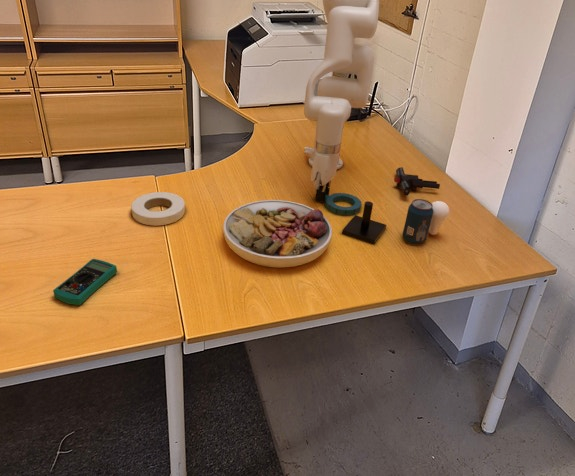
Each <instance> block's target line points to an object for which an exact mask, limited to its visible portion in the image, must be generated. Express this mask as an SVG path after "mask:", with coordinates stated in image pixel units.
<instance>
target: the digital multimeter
mask: <svg viewBox="0 0 575 476" xmlns="http://www.w3.org/2000/svg"><path fill="white" fill-rule="evenodd" d="M117 273H118V267H117V265H115V264H114V263H111V262H108V261H105V260H101V259H97V258H92V259H90V260H89V261H88V262H86V264H83V266H82V267H81V268H80V269H78V270H77V271H76V272H74V273H73V274H72V275H71V276H70V277H68V278H67V279H66V280H63V282H62V283H61V284H59V285H58V286H57V287H55V288H54V289H53V290H52V293H53V296H54V298H56V299H57V300H59V301H61V302H63V303H66V304H69V305H76V306H80V305H82V304H83V303H84V302H85V301H86V300H87V299H88V298H89V297H90V296H92V295H93V294H94V293H95V292H96V291H97V290H98V289H100V287H102V286H103V285H104V284H105V283H107V281H109V280H110V279H111V278H112V277H113V276H114V275H116V274H117Z"/></svg>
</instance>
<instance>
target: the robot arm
mask: <svg viewBox="0 0 575 476" xmlns="http://www.w3.org/2000/svg"><path fill="white" fill-rule="evenodd" d="M322 6H323V11H324V15H325V19H326V22H327V27H326V37H325V44H324V54H323V60H322V62H321V63H320V64H319V65H318V66H317V67H316V68H315V69H314V71H313V72H311V74H310V76H309V78H308V80H307V83H306V86H305V87H306V88H305V95H304V103H303V114H304V117H305V118H306V119H307V120H309V121H313V122H316V125H315V134H314V135H315V137H314V145H313V148H312V147H310V146H305V147H304V148H303V151H304V155H309V158H308V164H309V165H310V166H311V167H312V168H311V172H310V173H311V174H310V182H311V183H314V186H313V189H315V194H316V197H315V196H314V200H315V202H320V203H323V204H325V203H324V202H325V197H326V194H327V195H330V187H331V183H332V179H333V178H334V177H335V176H336V174H337V170H340V169H341V168H342V167H343V164H344V161H343V159H342V158H340V157H341V156H340V153H341V147H342V140H343V131H344V125H345V123H346V122H347V121H348V120H349V119H350V117H351V113H352V109H363V108H365V107H366V106H367V104H368V101H369V96H370V90H371V82H372V75H373V67H374V51H373V49H372V47H371V46H369V45H367V44H358V43H355V39H357V38H358V39H366V40H367V39H372V38H373V37H374V36H375V34H376V32H377V28H378V23H379V22H378V21H379V14H380V12H379V10H380V0H322ZM330 73H339V74H347V75H355V76H356V77H357V78H352V77H344V76H326V75H327V74H330ZM324 76H325V77H324ZM316 87H317V93H316V94H317V95H315V92H316Z"/></svg>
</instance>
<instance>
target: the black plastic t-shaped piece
mask: <svg viewBox="0 0 575 476" xmlns="http://www.w3.org/2000/svg"><path fill="white" fill-rule="evenodd" d="M395 174H396V177H394V179H393V181H394V183H396V189H401V190H402V193H403V195H404V196H405V197H408V196H409V195H410V194H411V193H412V191H417V189H418V188H420V189H423V188H424V189H425V188H426V189H436V190H440V187H441V184H440V183H438V181H435V180H425V179H422V178H419V175H416V174H407V173H405V170H404V167H402V166H400V167H398V168H397V169H395Z"/></svg>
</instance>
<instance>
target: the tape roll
mask: <svg viewBox="0 0 575 476" xmlns="http://www.w3.org/2000/svg"><path fill="white" fill-rule="evenodd" d="M159 206H162V207H167V209H163V210H151V208H153V207H159ZM185 212H186V205H185V200H184V198H182V197H181V196H180V195H178V194H176V193H174V192H173V193H172V192H168V191H167V192H166V191H153V192H149V193H145V194H142V195H140V196H138V197H137V198H135V199H134V200H133V201H132V203H131V215H132V217H133V219H134V220H135V221H136V222H138V223H140V224H143V225H147V226H155V227H156V226H165V225H169V224H173V223H176V222H178V221H179V220H180V219H181V218H182V217H184V215H185V214H186V213H185Z"/></svg>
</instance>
